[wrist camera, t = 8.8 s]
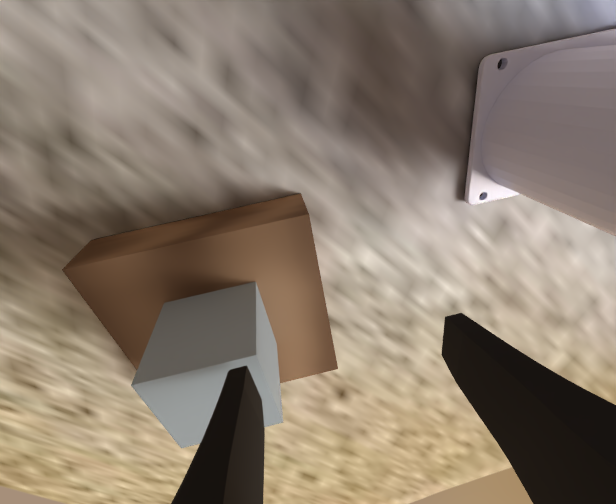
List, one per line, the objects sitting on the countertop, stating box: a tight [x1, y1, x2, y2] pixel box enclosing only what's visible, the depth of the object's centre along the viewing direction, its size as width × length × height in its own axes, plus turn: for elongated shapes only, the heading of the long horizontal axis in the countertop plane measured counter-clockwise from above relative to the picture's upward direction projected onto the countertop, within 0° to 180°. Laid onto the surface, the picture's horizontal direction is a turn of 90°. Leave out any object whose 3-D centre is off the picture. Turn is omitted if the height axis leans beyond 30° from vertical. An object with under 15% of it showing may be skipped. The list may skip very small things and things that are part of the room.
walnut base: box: [62, 194, 338, 383], centre depth 19 cm, size 12×12×3 cm
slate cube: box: [131, 282, 283, 448], centre depth 15 cm, size 5×5×5 cm
